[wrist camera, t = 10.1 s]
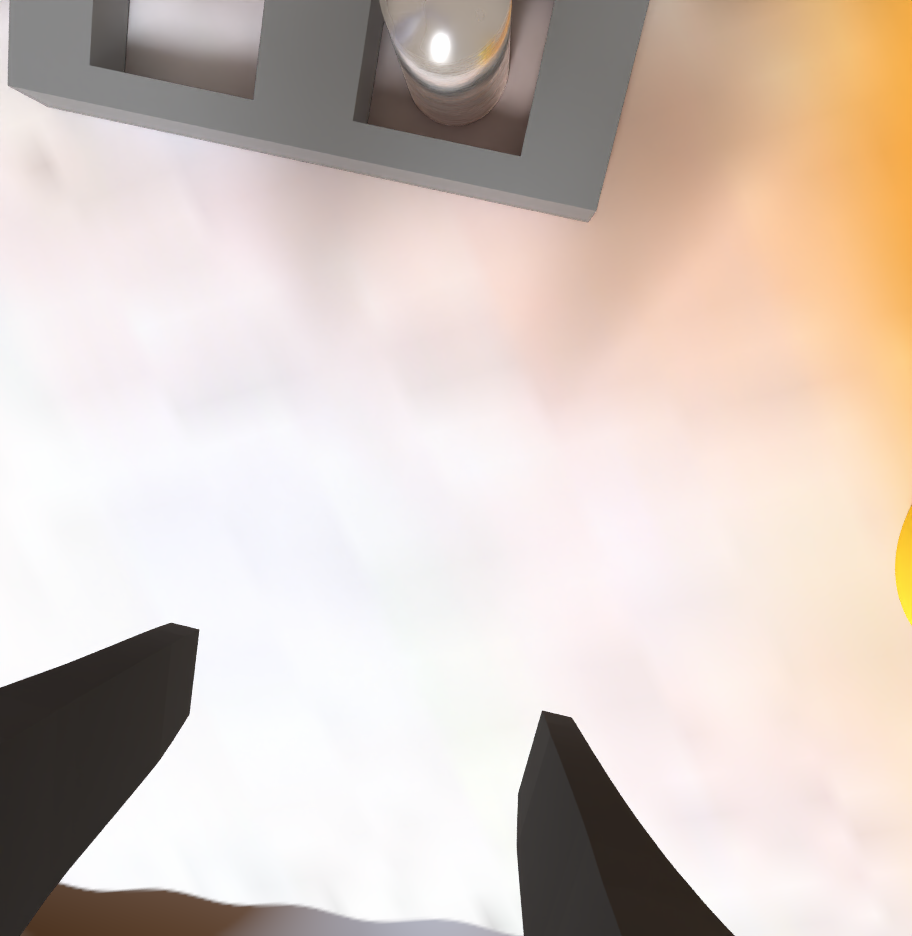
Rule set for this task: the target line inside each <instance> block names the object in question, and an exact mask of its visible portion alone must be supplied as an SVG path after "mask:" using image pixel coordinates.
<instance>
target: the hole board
mask: <svg viewBox="0 0 912 936" xmlns="http://www.w3.org/2000/svg"><path fill="white" fill-rule="evenodd" d="M648 4H649V0H555V1H554V6H553V10H552V15H551V20H550V24H549V29H548V33H547V38H546V42H545V47H544V52H543V56H542V61H541V65H540V70H539V74H538V79H537V84H536V88H535V93H534V97H533V102H532V106H531V111H530V116H529V120H528V125H527V129H526V134H525V138H524V143H523V147H522V152H521V156H516V155H512V154H507V153H502V152H497V151H493V150H488V149H483V148H479V147H474V146H469V145H464V144H460V143H455V142H450V141H445V140H441V139H436V138H431V137H426V136H422V135H417V134H412V133H408V132H403V131H398V130H393V129H389V128H384V127H379V126H374V125H370V124H367V123H368V117H369V110H370V104H371V98H372V91H373V85H374V79H375V72H376V66H377V60H378V53H379V47H380V41H381V35H382V28H383V22H384V17H383V14H382V11H381V6H380V2H379V0H265V2H264V10H263V19H262V28H261V37H260V45H259V54H258V63H257V72H256V80H255V89H254V98H253V100H252V99H247V98H242V97H237V96H233V95H228V94H223V93H218V92H214V91H209V90H204V89H200V88H195V87H190V86H185V85H181V84H176V83H171V82H166V81H162V80H157V79H152V78H148V77H143V76H138V75H133V74H129V73H124V69H125V54H126V39H127V24H128V8H129V0H10V7H9V51H8V86H9V87H11V88H13V89H15V90H17V91H19V92H21V93H23V94H24V95H26V96H28V97H30V98H32V99H34V100H36V101H38V102H40V103H41V104H43V105H45V106H47V107H51V108H56V109H60V110H65V111H70V112H74V113H79V114H84V115H88V116H93V117H98V118H102V119H107V120H112V121H116V122H121V123H126V124H130V125H135V126H140V127H144V128H149V129H154V130H158V131H163V132H168V133H172V134H177V135H182V136H186V137H191V138H196V139H200V140H205V141H210V142H215V143H219V144H224V145H229V146H233V147H238V148H243V149H247V150H252V151H257V152H261V153H266V154H271V155H275V156H280V157H285V158H289V159H294V160H299V161H303V162H308V163H313V164H317V165H322V166H327V167H331V168H336V169H341V170H345V171H350V172H355V173H359V174H364V175H369V176H373V177H378V178H383V179H388V180H392V181H397V182H402V183H406V184H411V185H416V186H420V187H425V188H430V189H434V190H439V191H444V192H448V193H453V194H458V195H462V196H467V197H472V198H476V199H481V200H486V201H490V202H495V203H500V204H504V205H509V206H514V207H518V208H523V209H528V210H532V211H537V212H542V213H546V214H551V215H556V216H561V217H565V218H570V219H575V220H579V221H584V222H589V220H590V219H591V217H592V216H593V215H594V213H595V212H596V210H597V206H598V202H599V198H600V194H601V190H602V186H603V182H604V178H605V174H606V170H607V166H608V162H609V158H610V154H611V150H612V146H613V142H614V139H615V135H616V131H617V127H618V123H619V119H620V115H621V111H622V107H623V103H624V99H625V95H626V91H627V87H628V83H629V79H630V75H631V71H632V67H633V63H634V59H635V56H636V52H637V48H638V44H639V40H640V36H641V32H642V28H643V24H644V20H645V16H646V12H647V8H648Z"/></svg>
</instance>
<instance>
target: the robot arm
mask: <svg viewBox="0 0 912 936" xmlns="http://www.w3.org/2000/svg"><path fill="white" fill-rule="evenodd" d="M198 637H199V629H195V628H191V627H187V626H182V625H178V624H174V623H169V624H166V625H163V626H160V627H157V628H155V629H152V630H149V631H147V632H144V633H142V634H139V635H137V636H134V637H132V638H129V639H127V640H124V641H122V642H120V643H117V644H115V645H112V646H110V647H107V648H105V649H102V650H100V651H97V652H95V653H92V654H90V655H87V656H85V657H82V658H80V659H77V660H75V661H72V662H70V663H67V664H65V665H62V666H59V667H56V668H54V669H51V670H48V671H45V672H43V673H40V674H37V675H34V676H32V677H29V678H26V679H23V680H20V681H18V682H15V683H12V684H9V685H7V686H4V687H1V688H0V936H20V935H21V934H22V932H23V931H24V929H25V928H26V926H27V925H28V924H29V922H30V921H31V920H32V918H33V917H34V915H35V914H36V913H37V911H38V910H39V908H40V907H41V905H42V904H43V903H44V901H45V900H46V898H47V897H48V896H49V894H50V893H51V892H52V891H53V889H54V888H55V887H56V886H57V884H58V883H59V882H60V880H61V879H62V878H63V877H64V875H65V874H66V873H67V871H68V870H69V869H70V868H71V867H72V865H73V864H74V863H75V862H76V861H77V859H78V858H79V857H80V856H81V855H82V853H83V852H84V851H85V850H86V849H87V847H88V846H89V845H90V844H91V843H92V841H93V840H94V839H95V838H96V837H97V835H98V834H99V833H100V832H101V831H102V829H103V828H104V827H105V826H106V825H107V823H108V822H109V821H110V820H111V819H112V818H113V816H114V815H115V814H116V813H117V812H118V810H119V809H120V808H121V807H122V806H123V804H124V803H125V802H126V801H127V800H128V798H129V797H130V796H131V795H132V794H133V792H134V791H135V790H136V789H137V787H138V786H139V785H140V784H141V783H142V781H143V780H144V779H145V778H146V777H147V775H148V774H149V773H150V772H151V770H152V769H153V768H154V767H155V765H156V764H157V763H158V762H159V760H160V759H161V757H162V756H163V755H164V753H165V752H166V750H167V749H168V747H169V746H170V744H171V743H172V741H173V740H174V738H175V736H176V735H177V733H178V732H179V730H180V729H181V727H182V725H183V724H184V722H185V721H186V719H187V717H188V716H189V713H190V705H191V696H192V688H193V679H194V671H195V662H196V654H197V645H198ZM517 858H518V871H519V883H520V895H521V907H522V919H523V930H524V936H734V935H733V934H732V932H731V931H730V930H729V929H728V928H727V927H726V926H725V925H724V924H723V923H722V922H721V921H720V920H719V919H718V918H717V916H716V915H715V914H714V913H713V912H712V911H711V910H710V909H709V908H708V907H707V905H706V904H705V903H704V902H703V901H702V900H701V899H700V897H699V896H698V895H697V894H696V893H695V891H694V890H693V889H692V888H691V887H690V886H689V884H688V883H687V882H686V881H685V880H684V879H683V877H682V876H681V875H680V874H679V873H678V872H677V870H676V869H675V868H674V867H673V865H672V864H671V863H670V862H669V860H668V859H667V858H666V857H665V855H664V854H663V853H662V852H661V850H660V849H659V848H658V846H657V845H656V844H655V842H654V841H653V840H652V838H651V837H650V836H649V834H648V833H647V832H646V830H645V829H644V828H643V826H642V825H641V824H640V822H639V821H638V819H637V818H636V817H635V815H634V814H633V812H632V811H631V809H630V808H629V807H628V805H627V804H626V802H625V801H624V799H623V798H622V796H621V795H620V793H619V792H618V790H617V789H616V787H615V786H614V784H613V783H612V781H611V780H610V778H609V777H608V775H607V774H606V772H605V770H604V769H603V767H602V766H601V764H600V762H599V761H598V759H597V758H596V756H595V754H594V753H593V751H592V750H591V748H590V746H589V745H588V743H587V741H586V740H585V738H584V737H583V735H582V733H581V732H580V730H579V728H578V727H577V725H576V724H575V722H574V720H573V719H572V718H571V717H567V716H563V715H559V714H554V713H550V712H546V711H542V713H541V716H540V720H539V723H538V727H537V730H536V734H535V737H534V741H533V744H532V747H531V751H530V754H529V758H528V761H527V765H526V768H525V772H524V775H523V779H522V782H521V786H520V789H519V793H518V814H517Z"/></svg>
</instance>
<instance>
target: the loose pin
mask: <svg viewBox="0 0 912 936" xmlns="http://www.w3.org/2000/svg"><path fill="white" fill-rule="evenodd" d="M379 2H380V6H381V11H382V14H383V17H384V20H385V23H386V25H387V28H388V31H389V34H390V37H391V40H392V43H393V46H394V49H395V52H396V55H397V57H398V60H399V63H400V66H401V69H402V72H403V75H404V78H405V81H406V84H407V87H408V89H409V92H410V95H411V97H412V99H413V101H414V102H415V104H416V105H417V107H418V108H419V109H420V110H421V111H422V112H423V113H424V114H425V115H426V116H427V117H429V118H430V119H432V120H434V121H436V122H438V123H441V124H444V125H449V126H462V125H467V124H470V123H473V122H475V121H477V120H479V119H481V118H482V117H484V116H485V115H486V114H488V113H489V112H490V111H491V110H492V109H493V108H494V107H495V105H496V104H497V102H498V101H499V99H500V98H501V96H502V94H503V92H504V89H505V87H506V83H507V79H508V73H509V54H510V32H511V9H512V0H379Z"/></svg>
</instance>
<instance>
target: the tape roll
mask: <svg viewBox="0 0 912 936" xmlns="http://www.w3.org/2000/svg"><path fill="white" fill-rule="evenodd" d="M895 576H896V585H897V591H898V595H899V599H900V602H901V605H902V607H903V610H904V612H905V614H906V616H907V618H908V620H909V622H910V624H911V625H912V506H911V508H910V510H909V512H908V514H907V516H906V518H905V521H904V524H903V526H902V529H901V533H900V536H899V540H898V545H897V551H896V560H895Z"/></svg>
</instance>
